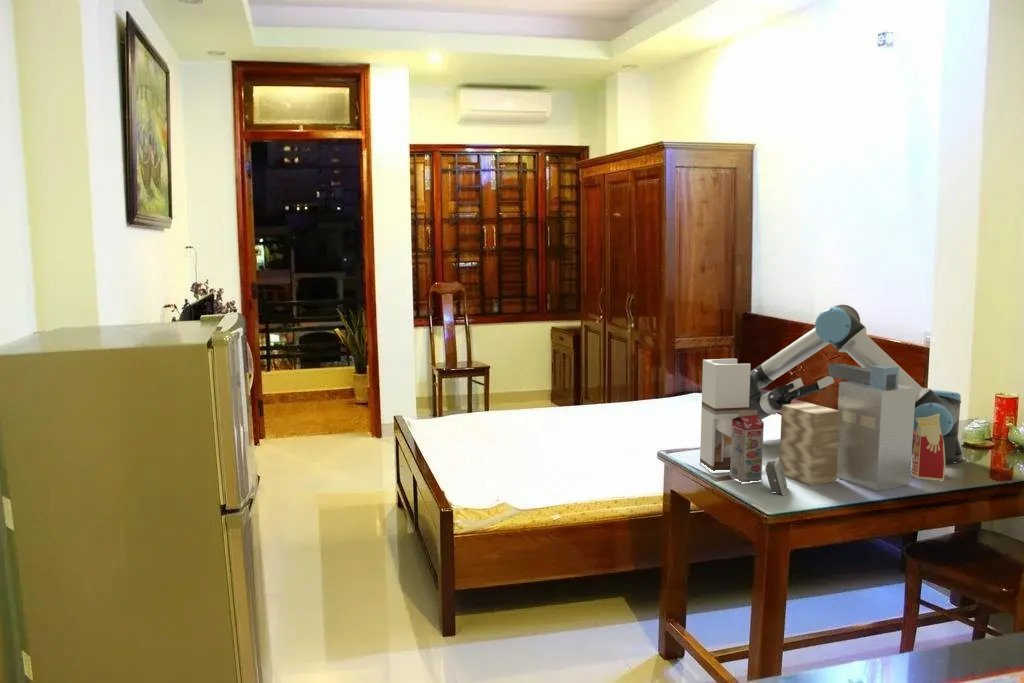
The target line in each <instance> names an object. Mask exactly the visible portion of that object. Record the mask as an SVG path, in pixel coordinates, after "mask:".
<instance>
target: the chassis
mask: <svg viewBox="0 0 1024 683" xmlns="http://www.w3.org/2000/svg"><path fill="white" fill-rule="evenodd" d="M915 397H916V387H911V386H906V385H901V384H898V387H893V388H884V389H883V388H878V387H873V386H870V385H868V384H863V383H858V382H853V381H848V380H845V381H840V382H839V381H838V398H837V399H838V400H837V410H838V411H840V425H839V444H838V462H837V478H838V479H841V480H844V481H847V482H849V483H853V484H855V485H858V486H861V487H864V488H866V489H869V490H871V491H875V492H879V491H884V490H890V489H895V488H899V487H905V486H910V484H911V472H912V457H913V456H912V448H913V443H914V442H913V441H914V429H913V427H914V412H915Z"/></svg>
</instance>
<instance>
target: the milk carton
mask: <svg viewBox="0 0 1024 683" xmlns="http://www.w3.org/2000/svg"><path fill="white" fill-rule="evenodd" d="M939 417H940V414H938V415H933V416H929V417H922V418H915V419H916V420H917V423H918V426H917V430H916V431H915V436H914V439H913V441H914V442H913V446H914V449H913V456H912V457H911V472H910V476H912V477H914V478H915V479H917V480H928V479H929V481H937V480H943V481H942V482H945V473H946V463H945V449H944V441H943V437H942V433H941V428H940V423H939Z"/></svg>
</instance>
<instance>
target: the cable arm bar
mask: <svg viewBox="0 0 1024 683" xmlns="http://www.w3.org/2000/svg"><path fill="white" fill-rule="evenodd" d="M827 371H828V374H827V376H829V377H833V379H834V378H836V379H840V380H844V381H853V382H858V383H863V384H868V385H870V386H873V387H878V388H883V389H884V388H893V387H898V375H899V367H896V366H890V365H876V366H871V369H867V368H862V367H861V366H855V365H851V364H846V363H841V362H840V363H839V362H835V363H828V370H827Z"/></svg>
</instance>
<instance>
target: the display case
mask: <svg viewBox="0 0 1024 683" xmlns="http://www.w3.org/2000/svg"><path fill="white" fill-rule="evenodd" d="M750 371H751V363H738V358H719V359H718V358H716V359H715V358H714V359H712V358H711V359H708V358H707V359H702V381H701V382H702V383H701V384H702V385H701V411H700V412H701V416H700V418H701V419H700V445H699V447H700V449H699V450H700V451H699V453H700V454H699V457H700V458H699V463H700V462H701V463H703V464H704V465H706V466H707V467H708V468H710V469H711V470H713V471H715V470H731V441H732V420H733V419H734V418H736V417H738V416H739V411H748V410H749V392H750Z"/></svg>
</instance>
